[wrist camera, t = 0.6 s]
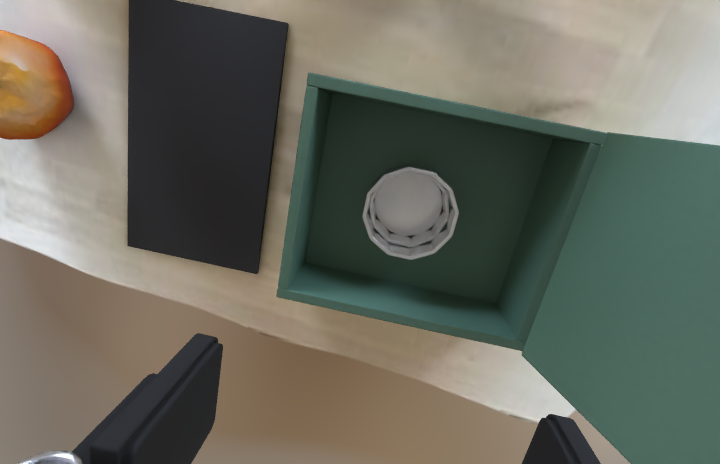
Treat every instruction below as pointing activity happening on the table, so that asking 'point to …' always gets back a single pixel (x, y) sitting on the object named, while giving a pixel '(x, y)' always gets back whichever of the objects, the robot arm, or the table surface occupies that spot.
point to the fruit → (31, 88)
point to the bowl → (410, 211)
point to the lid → (640, 302)
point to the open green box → (474, 201)
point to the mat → (201, 130)
